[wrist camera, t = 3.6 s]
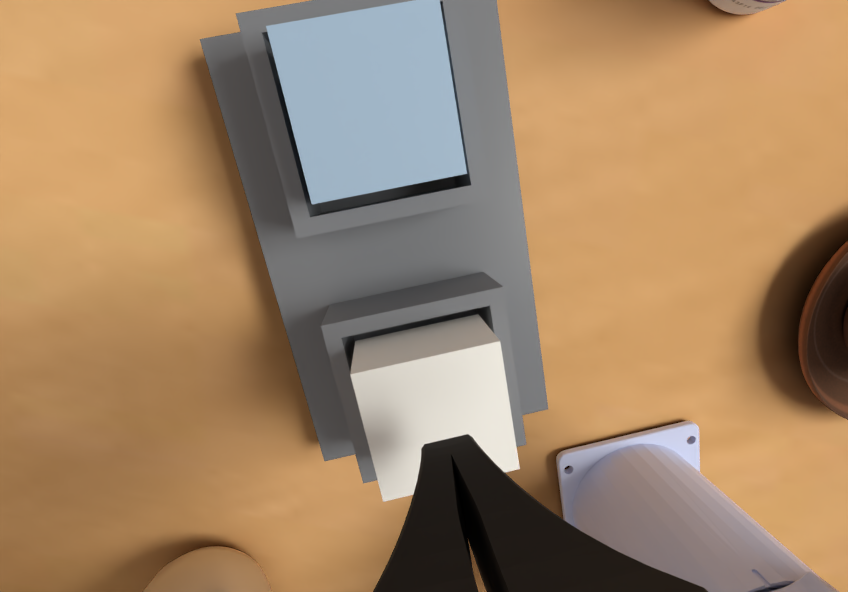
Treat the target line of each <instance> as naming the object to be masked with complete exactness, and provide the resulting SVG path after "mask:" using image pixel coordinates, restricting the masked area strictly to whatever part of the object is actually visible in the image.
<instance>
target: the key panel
mask: <svg viewBox="0 0 848 592" xmlns="http://www.w3.org/2000/svg"><path fill="white" fill-rule="evenodd" d="M408 1H413V0H312V1H306V2H300V3H295V4H289V5H283V6H277V7H271V8H265V9H260V10H254V11H248V12H242V13H236V16H237V20H238V24H239V27H240V31H241V32H238V33H233V34H227V35H221V36H215V37H210V38H204V39H200V42H201V45H202V49H203V52H204V55H205V59H206V62H207V65H208V69H209V72H210V76H211V79H212V82H213V86H214V89H215V92H216V96H217V99H218V103H219V106H220V109H221V113H222V116H223V120H224V123H225V126H226V130H227V133H228V136H229V140H230V143H231V147H232V150H233V153H234V157H235V160H236V163H237V167H238V170H239V174H240V177H241V180H242V184H243V187H244V190H245V194H246V197H247V201H248V204H249V207H250V211H251V214H252V218H253V221H254V224H255V228H256V231H257V234H258V238H259V241H260V245H261V248H262V251H263V255H264V258H265V261H266V265H267V268H268V272H269V275H270V278H271V282H272V285H273V288H274V292H275V295H276V299H277V302H278V305H279V309H280V312H281V316H282V319H283V322H284V326H285V329H286V332H287V336H288V339H289V343H290V346H291V349H292V353H293V356H294V359H295V363H296V366H297V370H298V373H299V376H300V380H301V383H302V387H303V390H304V393H305V397H306V400H307V403H308V407H309V410H310V414H311V417H312V420H313V424H314V427H315V430H316V434H317V437H318V441H319V444H320V447H321V451H322V454H323V457H324V461H328V460H332V459H337V458H341V457H345V456H350V455H354V454H356V458H357V462H358V465H359V469H360V473H361V476H362V480H363V483H367V482H371V481H375V480H378V479H377V476H376V472H375V468H374V464H373V460H372V456H371V453H370V449H369V445H368V441H367V437H366V433H365V430H364V426H363V422H362V418H361V414H360V410H359V407H358V403H357V399H356V395H355V391H354V387H353V383H352V380H351V376H350V372H351V366H352V359H353V353H354V346H355V341H357V340H362V339H366V338H371V337H375V336H380V335H385V334H389V333H394V332H398V331H403V330H408V329H412V328H417V327H421V326H426V325H430V324H435V323H440V322H444V321H449V320H453V319H458V318H463V317H467V316H472V315H476V314H478V315H479V316H480V317H481V318H482V319H483V321H484V322H485V323H486V324H487V326H488V327H489V328H490V329H491V330H492V332H493V333H494V334H495V335H496V337H497V338H498V339H499V340H500V343H501V349H502V356H503V362H504V369H505V375H506V382H507V388H508V395H509V402H510V408H511V415H512V421H513V428H514V434H515V441H516V447H518V446H523V445H526V439H525V432H524V425H523V418H522V415H525V414H529V413H534V412H538V411H542V410H547V409H548V403H547V395H546V388H545V380H544V372H543V364H542V356H541V348H540V340H539V332H538V324H537V316H536V308H535V300H534V293H533V285H532V277H531V269H530V261H529V253H528V245H527V237H526V229H525V221H524V213H523V205H522V198H521V190H520V182H519V174H518V166H517V158H516V150H515V142H514V134H513V126H512V118H511V111H510V103H509V95H508V87H507V79H506V71H505V63H504V55H503V47H502V39H501V31H500V23H499V16H498V8H497V0H440V5H441V12H442V18H443V24H444V31H445V37H446V43H447V50H448V56H449V62H450V69H451V75H452V81H453V88H454V94H455V100H456V107H457V113H458V120H459V126H460V132H461V139H462V145H463V151H464V158H465V164H466V170H467V174H463V175H458V176H453V177H448V178H443V179H438V180H433V181H428V182H423V183H418V184H413V185H408V186H403V187H398V188H393V189H387V190H382V191H377V192H372V193H367V194H362V195H357V196H352V197H347V198H342V199H337V200H332V201H327V202H322V203H317V204H312V203H311V200H310V196H309V192H308V188H307V184H306V180H305V176H304V172H303V168H302V164H301V161H300V157H299V153H298V149H297V145H296V141H295V137H294V133H293V129H292V126H291V122H290V118H289V114H288V110H287V106H286V102H285V98H284V94H283V90H282V87H281V83H280V79H279V75H278V71H277V67H276V63H275V59H274V55H273V52H272V48H271V44H270V40H269V36H268V32H267V28H266V26H269V25H275V24H281V23H287V22H292V21H298V20H304V19H310V18H315V17H321V16H327V15H333V14H338V13H344V12H350V11H356V10H362V9H367V8H373V7H379V6H385V5H390V4H396V3H402V2H408Z"/></svg>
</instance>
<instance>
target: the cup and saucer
mask: <svg viewBox="0 0 848 592" xmlns="http://www.w3.org/2000/svg"><path fill="white" fill-rule="evenodd" d="M798 350H799V358H800V364H801V368H802V372H803V375H804V378H805V380H806V382H807V384H808V386H809V388H810V389H811V391H812V392H813V394H814V395H815V396H816V397H817V398H818V399H819V400H820V401H821V402H822V403H823V404H824V405H825V406H827V407H828V408H829V409H830V410H832V411H833V412H835V413H836V414H838V415H840V416H841V417H844V418H846V419H848V241H847V242H846V243H845V244H843V245H842V246H841V247H840V248H839V249H838V251H837V252H836V253H835V254H834V255H833V256H832V257H831V258H830V260H829V261H828V262H827V264H826V265H825V266H824V267H823V269H822V270H821V272H820V273H819V275H818V277H817V278H816V280H815V282H814V284H813V285H812V287H811V290H810V292H809V294H808V296H807V299H806V301H805V304H804V307H803V310H802V314H801V318H800V324H799V331H798Z"/></svg>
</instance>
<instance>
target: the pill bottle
mask: <svg viewBox="0 0 848 592" xmlns="http://www.w3.org/2000/svg"><path fill="white" fill-rule="evenodd" d="M709 1H710V2H711V3H712V4H713V5H715V6H716V7H718V8H719V9H721V10H723V11H726V12H729V13H733V14H740V15H742V14H753V13H757V12H760V11H763V10H766V9H768V8H770V7H773V6H775V5H778V4H780V3H782V2H784V1H786V0H709Z"/></svg>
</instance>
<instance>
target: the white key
mask: <svg viewBox="0 0 848 592" xmlns="http://www.w3.org/2000/svg"><path fill="white" fill-rule="evenodd" d="M350 376H351V380H352V383H353V387H354V391H355V395H356V399H357V403H358V407H359V410H360V414H361V418H362V422H363V426H364V430H365V433H366V437H367V441H368V445H369V449H370V453H371V456H372V460H373V464H374V468H375V472H376V476H377V479H378V483H379V487H380V491H381V495H382V499H383V502H385V501H389V500H393V499H397V498H401V497H405V496H410V495H413V494H414V490H415V487H416V483H417V479H418V474H419V469H420V462H421V448H422V447H423V446H424V444H427V443H432V442H436V441H440V440H444V439H449V438H453V437H457V436H462V435H466V434H469V435H470V436H472V437H473V439H474V440H475V441H476V443H477V444H478V445H479V446H480V447H481V449H482V450H483V451H484V452H485V453H486V454H487V455H488V456H489V457H490V459H491V460H492V461H493V462H494V463H495V464H496V465H497V466H498V467H499V468H500V469H501V470H502V471H503V472H509V471H513V470H517V469H520V467H519V460H518V454H517V447H516V441H515V434H514V428H513V421H512V415H511V408H510V402H509V395H508V388H507V382H506V375H505V369H504V362H503V356H502V349H501V343H500V340H499V339H498V338H497V337H496V335H495V334H494V333H493V332H492V330H491V329H490V328H489V327H488V326H487V324H486V323H485V322H484V321H483V319H482V318H481V317H480V316H479V315H478V314H476V315H472V316H467V317H463V318H458V319H453V320H449V321H444V322H440V323H435V324H430V325H426V326H421V327H417V328H412V329H408V330H403V331H398V332H394V333H389V334H385V335H380V336H375V337H371V338H366V339H362V340H357V341H355V346H354V353H353V359H352V366H351V372H350Z"/></svg>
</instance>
